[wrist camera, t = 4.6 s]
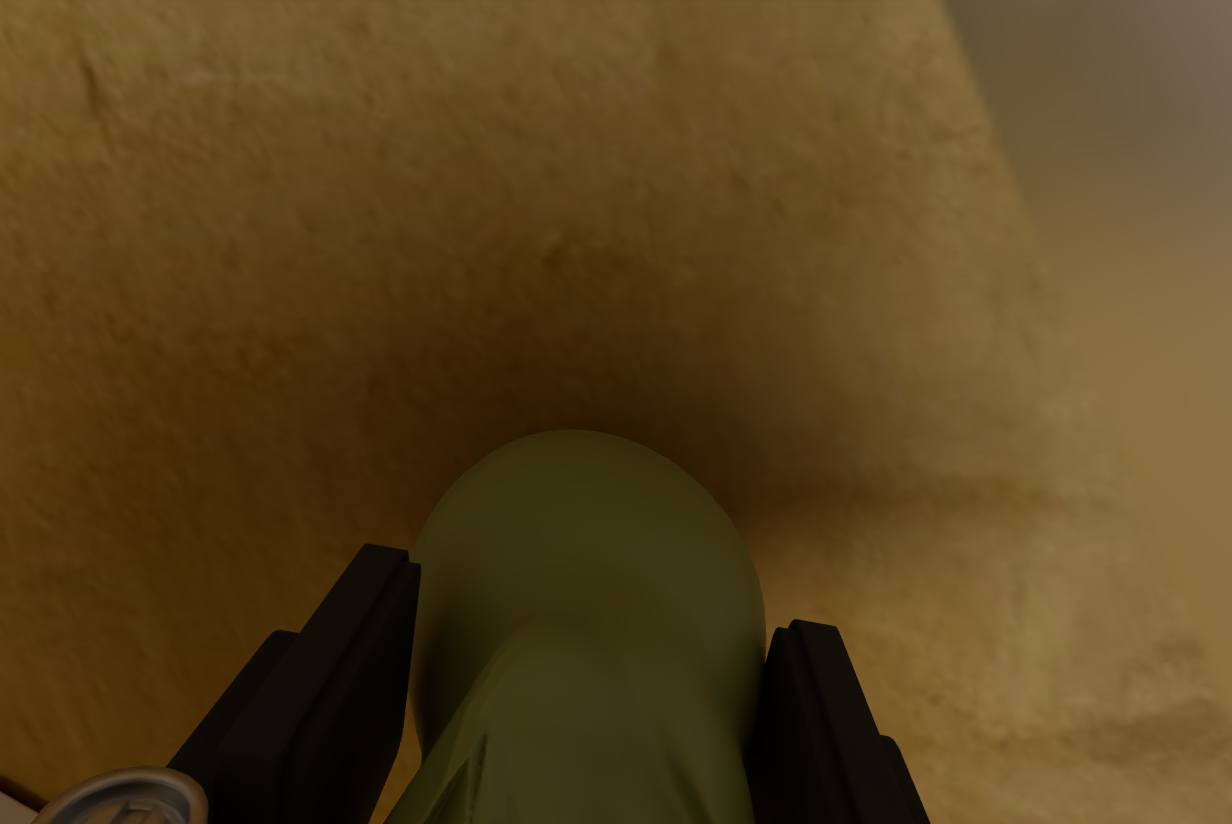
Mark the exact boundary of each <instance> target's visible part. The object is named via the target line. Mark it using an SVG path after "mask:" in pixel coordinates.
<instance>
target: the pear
mask: <svg viewBox="0 0 1232 824" xmlns="http://www.w3.org/2000/svg"><path fill="white" fill-rule="evenodd" d="M409 562H413V563H419V564H421V580H420V589H419V597H418V606H417V615H416V623H415V632H414V640H413V649H412V657H411V666H410V675H409V683H408V693H409V699H410V704H411V709H412V714H413V719H414V724H415V728H416V733H417V737H418V741H419V745H420V749H421V752H422V762H421V766H420V768H419V770H418V772H417V773H416V775H415V776H414V778H413V779H412V781H411V782H410V784H409V785H408V787H407V788H406V790H405V791H404V793H403V794H402V796H401V797H400V799H399V800H398V802H397V803H396V805H395V806H394V808H393V809H392V811H391V813H390V814H389V816H388V817H387V819H386V820H385V822H384V823H383V824H755V818H754V812H753V806H752V800H751V795H750V790H749V786H748V782H747V777H746V773H745V770H744V764H745V761H746V758H747V755H748V752H749V749H750V746H751V742H752V739H753V735H754V731H755V727H756V722H757V718H758V713H759V708H760V702H761V696H762V689H763V680H764V670H765V659H766V622H765V611H764V603H763V597H762V592H761V588H760V584H759V580H758V576H757V573H756V570H755V567H754V564H753V562H752V559H751V557H750V554H749V552H748V550H747V548H746V546H745V544H744V542H743V540H742V538H741V536H740V534H739V533H738V531H737V529H736V528H735V526H734V524H733V523H732V521H731V520H730V518H729V517H728V515H727V514H726V513H725V511H724V510H723V509H722V507H721V506H720V505H719V504H718V503H717V501H716V500H715V499H714V498H713V497H712V496H711V495H710V493H709V492H708V491H707V490H706V489H705V488H704V487H703V486H702V485H701V484H700V483H698V482H697V481H696V480H695V479H694V478H693V477H692V476H691V475H689V474H688V473H687V472H686V471H684V470H683V469H682V468H680V467H679V466H678V465H676V464H675V463H673V462H672V461H670V460H669V459H667V458H666V457H664V456H662V455H661V454H659V453H657V452H655V451H653V450H652V449H650V448H647V447H645V446H643V445H641V444H639V443H636V442H634V441H631V440H628V439H625V438H622V437H619V436H616V435H612V434H608V433H603V432H597V431H590V430H580V429H561V430H551V431H544V432H539V433H535V434H531V435H528V436H524V437H522V438H519V439H516V440H514V441H511V442H509V443H507V444H505V445H503V446H501V447H499V448H497V449H496V450H494V451H492V452H491V453H489V454H488V455H486V456H485V457H483V458H482V459H480V460H479V461H478V462H476V463H475V464H474V465H473V466H471V467H470V468H469V469H468V470H467V471H466V472H465V473H464V474H462V475H461V476H460V477H459V478H458V479H457V480H456V481H455V483H454V484H453V485H452V486H451V487H450V488H449V489H448V490H447V492H446V493H445V494H444V495H443V497H442V498H441V499H440V501H439V502H438V503H437V505H436V506H435V508H434V509H433V511H432V512H431V514H430V515H429V517H428V519H427V521H426V522H425V524H424V526H423V528H422V530H421V532H420V534H419V536H418V539H417V541H416V543H415V546H414V549H413V551H412V554H411V558H410V561H409Z"/></svg>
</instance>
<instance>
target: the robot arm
mask: <svg viewBox="0 0 1232 824" xmlns="http://www.w3.org/2000/svg"><path fill="white" fill-rule="evenodd" d="M420 580H421V564H419V563H413V562H409V553H408V551H407V550H402V549H396V548H391V547H385V546H380V545H374V544H368V543H366V544H365V545H363V546H362V548H361V549H360V551H359V552H358V553H357V555H356V556H355V557H354V559H353V560H352V562H351V563H350V564H349V566H348V567H347V568H346V570H345V571H344V573H343V574H342V575H341V577H340V578H339V579H338V581H337V582H336V584H335V585H334V586H333V588H332V589H331V591H330V592H329V593H328V595H327V596H326V597H325V599H324V600H323V602H322V603H321V604H320V606H319V607H318V608H317V610H316V611H315V613H314V614H313V615H312V617H311V618H310V619H309V621H308V622H307V624H306V625H305V626H304V628H303V629H302V630H301V632H300V633H296V632H290V631H284V630H277V631H274V632H273V633H272V634H271V635H270V636H269V637H268V638H267V639H266V640H265V641H264V643H263V644H262V645H261V646H260V648H259V649H258V650H257V651H256V653H255V654H254V655H253V657H252V658H251V659H250V660H249V662H248V663H247V664H246V665H245V667H244V668H243V669H242V671H241V672H240V673H239V674H238V676H237V677H236V678H235V679H234V681H233V682H232V683H231V685H230V686H229V687H228V688H227V690H226V691H225V692H224V693H223V695H222V696H221V697H220V699H219V700H218V701H217V702H216V704H215V705H214V706H213V707H212V709H211V710H210V711H209V713H208V714H207V715H206V716H205V718H204V719H203V720H202V721H201V723H200V724H199V725H198V727H197V728H196V729H195V730H194V732H193V733H192V734H191V735H190V737H189V738H188V739H187V741H186V742H185V743H184V744H183V746H182V747H181V748H180V749H179V751H178V752H177V753H176V755H175V756H174V757H173V758H172V760H171V761H170V762H169V763H168V765H167V766H166V767H165V768H164V767H154V766H138V767H129V768H120V769H116V770H113V771H109V772H106V773H103V774H99V775H96V776H93V777H90V778H88V779H86V780H84V781H82V782H80V783H78V784H76V785H74V786H73V787H71V788H69V789H67V790H65V791H64V792H62V793H61V794H60V795H59V796H57V797H56V798H55V799H53V800H52V801H51V802H50V803H48V804H47V805H46V806H45V807H43V809H42V810H41V811H40V813H38V812H36V811H34V810H32V809H31V808H29V807H27V806H25V805H24V804H22V803H20V802H18V801H16V800H15V799H13V798H11V797H9V796H8V795H6V794H4V793H2V792H0V824H368V823H369V821H370V818H371V816H372V813H373V811H374V809H375V806H376V804H377V801H378V799H379V797H380V794H381V792H382V790H383V787H384V785H385V782H386V780H387V778H388V775H389V773H390V770H391V768H392V766H393V763H394V761H395V758H396V756H397V753H398V749H399V746H400V742H401V738H402V733H403V726H404V718H405V709H406V700H407V692H408V683H409V675H410V666H411V657H412V649H413V640H414V632H415V623H416V615H417V606H418V597H419V589H420ZM744 770H745V773H746V777H747V782H748V786H749V790H750V795H751V800H752V806H753V812H754V818H755V824H930V821H929V819H928V816H927V814H926V812H925V809H924V807H923V804H922V802H921V800H920V797H919V795H918V792H917V790H916V788H915V785H914V783H913V781H912V778H911V776H910V773H909V771H908V769H907V766H906V764H905V761H904V759H903V757H902V754H901V752H900V749H899V748H898V746H897V744H896V742H895V741H894V740H893V739H892V738H890V737H889V736H884V735H880V734H879V732H878V729H877V727H876V724H875V722H874V719H873V717H872V714H871V711H870V709H869V706H868V704H867V701H866V699H865V696H864V694H863V691H862V689H861V686H860V684H859V681H858V678H857V676H856V673H855V671H854V668H853V666H852V663H851V661H850V658H849V656H848V653H847V651H846V648H845V645H844V643H843V640H842V638H841V635H840V633H839V631H838V629H837V627H835V626H831V625H826V624H820V623H815V622H809V621H803V620H798V619H794V620H793V621H792V622H791V623H790V625H789V628H788V629H787V628H781V627H778V628H776V630H775V632H774V634H773V637H772V641H771V645H770V648H769V652H768V656H767V659H766V663H765V670H764V680H763V689H762V696H761V702H760V708H759V713H758V718H757V722H756V727H755V731H754V735H753V739H752V742H751V746H750V749H749V752H748V755H747V758H746V761H745V764H744Z"/></svg>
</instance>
